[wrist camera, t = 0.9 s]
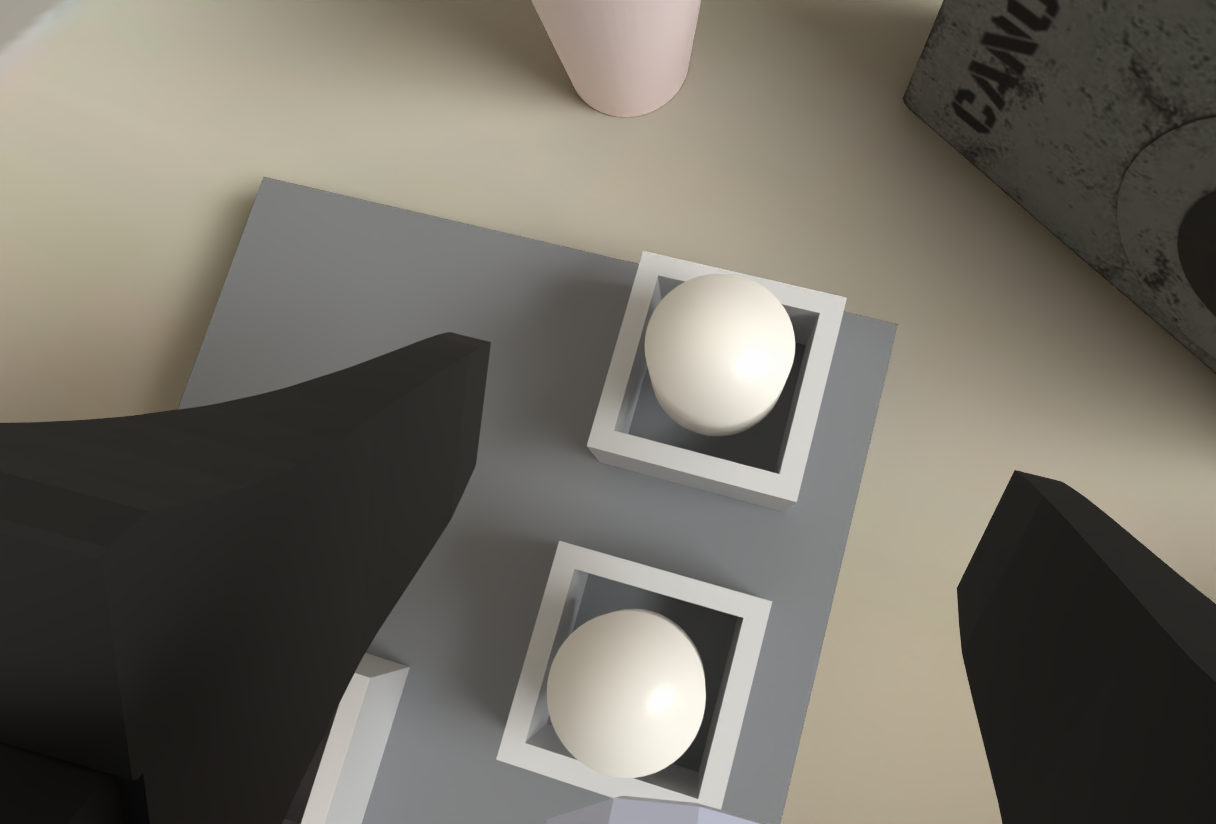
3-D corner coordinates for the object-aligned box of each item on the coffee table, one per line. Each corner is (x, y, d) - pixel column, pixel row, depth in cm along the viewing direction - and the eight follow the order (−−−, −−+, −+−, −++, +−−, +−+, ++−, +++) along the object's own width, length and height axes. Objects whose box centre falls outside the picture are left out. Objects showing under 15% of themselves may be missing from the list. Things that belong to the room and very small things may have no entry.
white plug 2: (766, 451, 19) (774, 434, 17) (635, 417, 20) (627, 397, 18) (798, 324, 20) (810, 291, 18) (670, 293, 20) (666, 258, 18)
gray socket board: (728, 992, 22) (735, 1101, 17) (93, 765, 24) (-48, 807, 20) (881, 344, 24) (924, 289, 20) (295, 206, 27) (212, 128, 22)
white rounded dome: (684, 774, 18) (682, 799, 16) (547, 731, 19) (527, 749, 16) (720, 631, 19) (723, 637, 16) (586, 592, 19) (571, 592, 17)
